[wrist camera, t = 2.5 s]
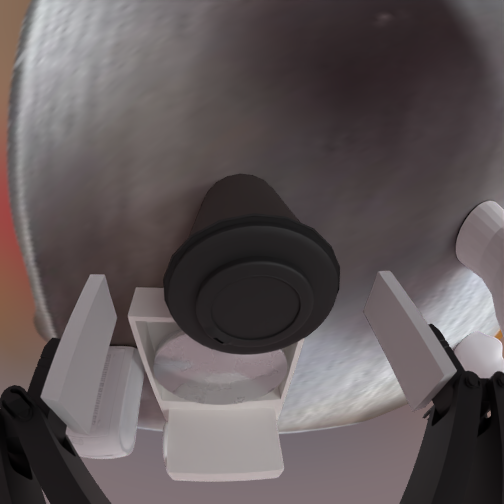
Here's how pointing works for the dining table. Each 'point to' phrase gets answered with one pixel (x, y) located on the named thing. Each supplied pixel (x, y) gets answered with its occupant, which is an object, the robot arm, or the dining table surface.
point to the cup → (485, 250)
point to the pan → (215, 371)
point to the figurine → (480, 354)
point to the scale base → (210, 412)
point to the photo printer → (114, 407)
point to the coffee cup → (250, 272)
